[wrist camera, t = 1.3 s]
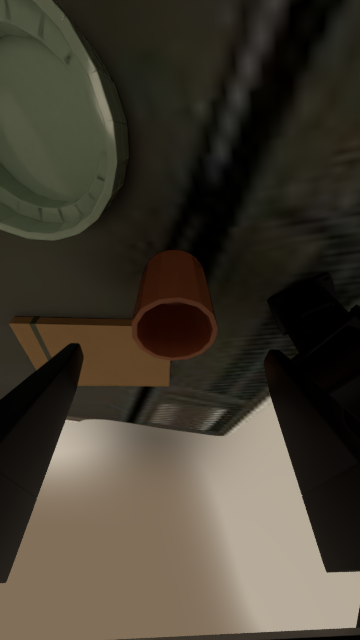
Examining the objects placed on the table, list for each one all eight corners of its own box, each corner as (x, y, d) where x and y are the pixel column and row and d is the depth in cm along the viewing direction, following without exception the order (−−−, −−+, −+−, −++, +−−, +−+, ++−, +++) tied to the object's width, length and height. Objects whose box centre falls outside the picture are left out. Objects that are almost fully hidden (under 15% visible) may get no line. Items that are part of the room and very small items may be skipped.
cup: (215, 287, 23) (231, 341, 17) (165, 313, 25) (163, 369, 19) (185, 236, 20) (191, 281, 14) (129, 271, 22) (112, 324, 16)
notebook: (169, 379, 34) (169, 386, 33) (49, 378, 33) (45, 385, 32) (171, 319, 26) (171, 326, 25) (14, 315, 25) (8, 323, 24)
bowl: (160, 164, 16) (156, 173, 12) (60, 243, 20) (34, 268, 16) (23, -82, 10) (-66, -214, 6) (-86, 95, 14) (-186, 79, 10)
